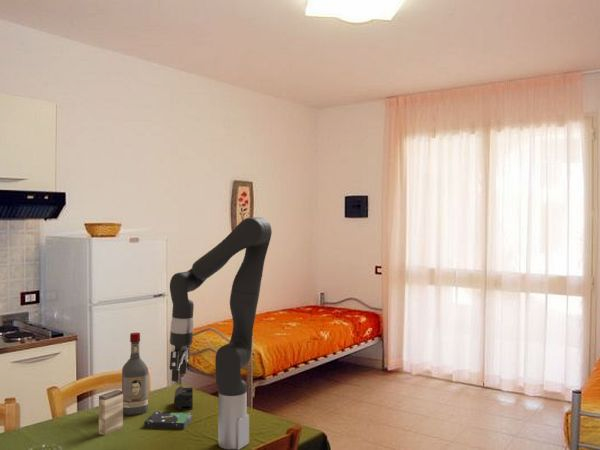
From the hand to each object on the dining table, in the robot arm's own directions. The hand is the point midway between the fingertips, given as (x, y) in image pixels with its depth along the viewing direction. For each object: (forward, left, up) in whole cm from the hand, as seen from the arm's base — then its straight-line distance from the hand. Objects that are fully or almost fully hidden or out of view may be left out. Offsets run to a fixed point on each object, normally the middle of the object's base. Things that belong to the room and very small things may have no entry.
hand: (179, 377), depth 178 cm
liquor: (+31, -10, -20) cm, 38 cm away
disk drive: (+11, -7, -21) cm, 24 cm away
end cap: (+18, -23, -20) cm, 36 cm away
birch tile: (+24, +8, -20) cm, 32 cm away
